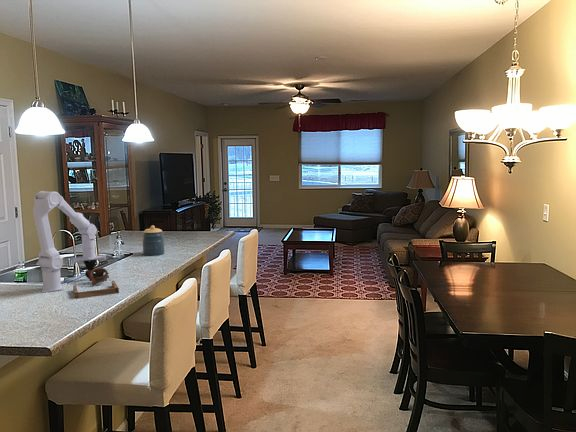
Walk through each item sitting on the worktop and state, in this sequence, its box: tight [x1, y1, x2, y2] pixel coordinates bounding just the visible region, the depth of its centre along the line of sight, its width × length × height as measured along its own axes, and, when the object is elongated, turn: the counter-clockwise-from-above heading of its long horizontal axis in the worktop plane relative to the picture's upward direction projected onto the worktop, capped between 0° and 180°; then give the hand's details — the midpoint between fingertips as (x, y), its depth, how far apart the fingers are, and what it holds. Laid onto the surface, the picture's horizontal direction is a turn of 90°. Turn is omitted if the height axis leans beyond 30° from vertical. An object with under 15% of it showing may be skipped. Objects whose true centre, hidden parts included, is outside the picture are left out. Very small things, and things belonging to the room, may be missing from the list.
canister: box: [141, 225, 166, 257], centre depth 296 cm, size 13×13×18 cm
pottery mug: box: [84, 267, 110, 286], centre depth 229 cm, size 12×10×8 cm
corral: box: [72, 280, 120, 299], centre depth 214 cm, size 14×17×2 cm
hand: (90, 275), depth 236 cm, fingers closed
